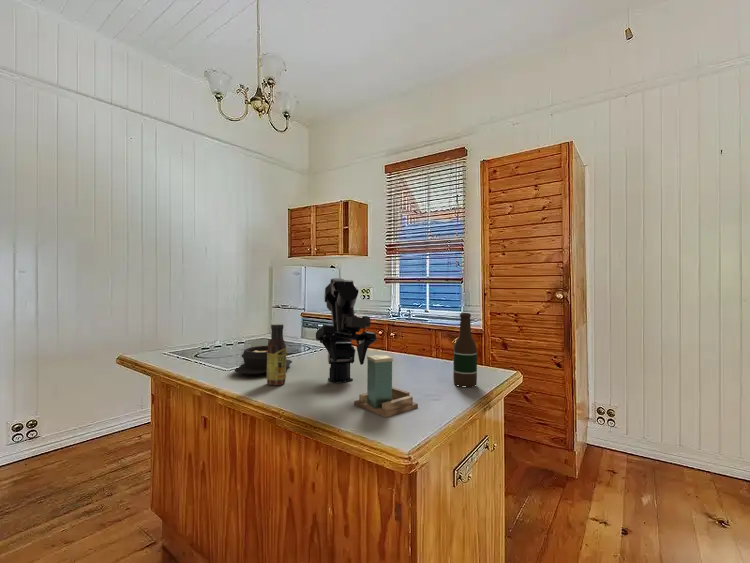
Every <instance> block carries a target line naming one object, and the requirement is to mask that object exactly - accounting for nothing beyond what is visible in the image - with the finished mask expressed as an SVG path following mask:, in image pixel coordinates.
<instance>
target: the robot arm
mask: <svg viewBox="0 0 750 563" xmlns="http://www.w3.org/2000/svg"><path fill="white" fill-rule="evenodd" d="M358 296H359V288H358V287H357V285H356V283H355V282H354V280H353V279H343V278H337V277H336V278H331V279H330V282H329V284H327V286H326V287H324V299H323V300H324V303H325V304H326V309H328V310H329V311H330V314H331V323H332V324H331V325H326V324H324V325H323V326H321V327H320V328H319V329H317V330H316V332H315V340H316V341H319V343H320V344H322V345H323V347H324V348H325V349H326V351H327V352H328V353H327V363H328V365H330V367H329V373H328V374H329V376H328V378H327V380H329V381H330V382H333V383H336V384H341V383H347V382H349V381H350V382H351V381H353V380H354V378H352V377H351V364H354V363H355V355H356V350H357V356H358V361H359V364H360V365H362V366H363V364H365V359H366V356H367V355H366V354H367V351H368V349H369V346H371V345H372V344H374V343H375V342H377V335H376V333H375V332H371V331H366V329H367V328H370V326H371V316H366V315H364V316H363V315H362V317H361V316H360V317H359V316H357V315H355V304H356V301H357V298H358ZM361 329H363V330H365V331H363V332H362V333H360V334H358V333H359V332H361ZM352 341H356V344H357V345H356V349H355V348H354V345H352Z"/></svg>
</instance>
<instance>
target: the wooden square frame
mask: <svg viewBox="0 0 750 563" xmlns="http://www.w3.org/2000/svg"><path fill="white" fill-rule="evenodd" d="M410 393H411V392H410V391H407V390H404V389H400V388H397V387H395V386H394V387H393V386H392V401H388V402H385V403H382V408H378V409H374V408H373V407H372V406H370V405H369V404H368V403H367V392H364V393H361V394H359V395H358V396H359V397H358V399H357V400H354V401H353V404H354V406H356V407H359V408H361V409H364V410H366V411H369V412H371V413H373V414H376V415H379V416H382V417H383V418H386V419H387V418H388V417H391V416H395V415H399V414H400V413H402V414H403V413H404V412H408V411H411V410H414V409H417V408H419V403H416V402H414V400H413V399H414V398H413V396H411V395H410Z"/></svg>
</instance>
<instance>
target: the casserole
mask: <svg viewBox="0 0 750 563" xmlns="http://www.w3.org/2000/svg"><path fill="white" fill-rule="evenodd" d="M267 352H268V345H258V346H251V347H247V348H245V349H244V350H243V353H242V354H241V357H242V359H243V363H242V364H240V366H238V368H235V369H234V370H233V371H234V372H236V373H238V374H243V375H244V374H245V375H267ZM288 353H289V352H287V351H286V356H287V355H288ZM292 363H293V361H292V359H287V358H286V369H288V367H290V365H291V364H292Z"/></svg>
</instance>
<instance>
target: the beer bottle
mask: <svg viewBox="0 0 750 563" xmlns="http://www.w3.org/2000/svg"><path fill="white" fill-rule="evenodd" d="M459 317H460V321H459V322H460V323H459V333H458V337H457V339H456V340H455V343H454V345H453V369H452V370H453V377H452V378H453V383H454V385H455V386H456V385H459V386H466V387H471V388H473V387H472V386H474V387H476V386H477V382H478V381H477V380H478V349H477V345H476V342H475V341H474V339H473V337H472V327H471V317H472V314H471V313H469V312H461V313H460V314H459ZM475 385H476V386H475ZM459 386H458V387H459ZM466 387H465V388H466Z"/></svg>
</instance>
